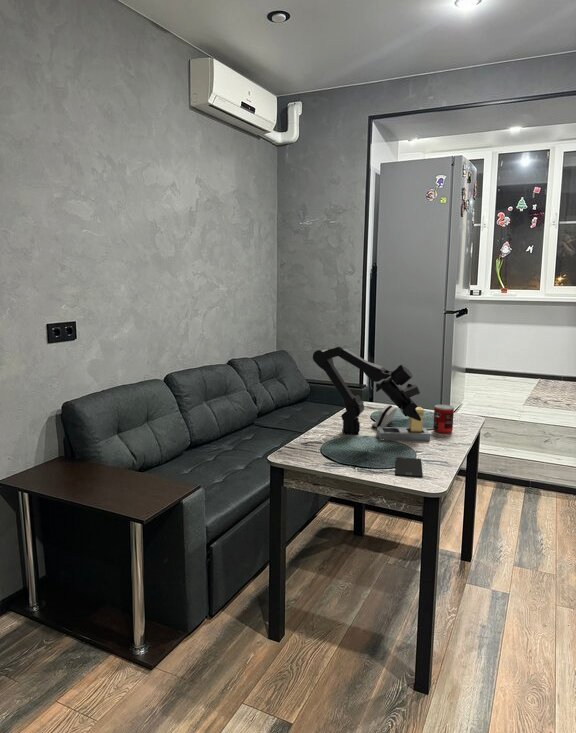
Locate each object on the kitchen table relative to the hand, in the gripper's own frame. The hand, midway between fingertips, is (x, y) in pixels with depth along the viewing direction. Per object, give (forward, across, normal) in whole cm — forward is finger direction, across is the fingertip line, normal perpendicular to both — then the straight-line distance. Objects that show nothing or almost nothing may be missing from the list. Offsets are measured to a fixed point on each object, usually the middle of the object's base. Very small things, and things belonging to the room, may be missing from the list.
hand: (419, 418), depth 219 cm
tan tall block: (+4, 0, +6) cm, 7 cm away
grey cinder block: (+1, 0, +10) cm, 10 cm away
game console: (-2, +20, +14) cm, 24 cm away
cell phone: (-2, -36, +14) cm, 39 cm away
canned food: (+15, +10, -3) cm, 18 cm away
